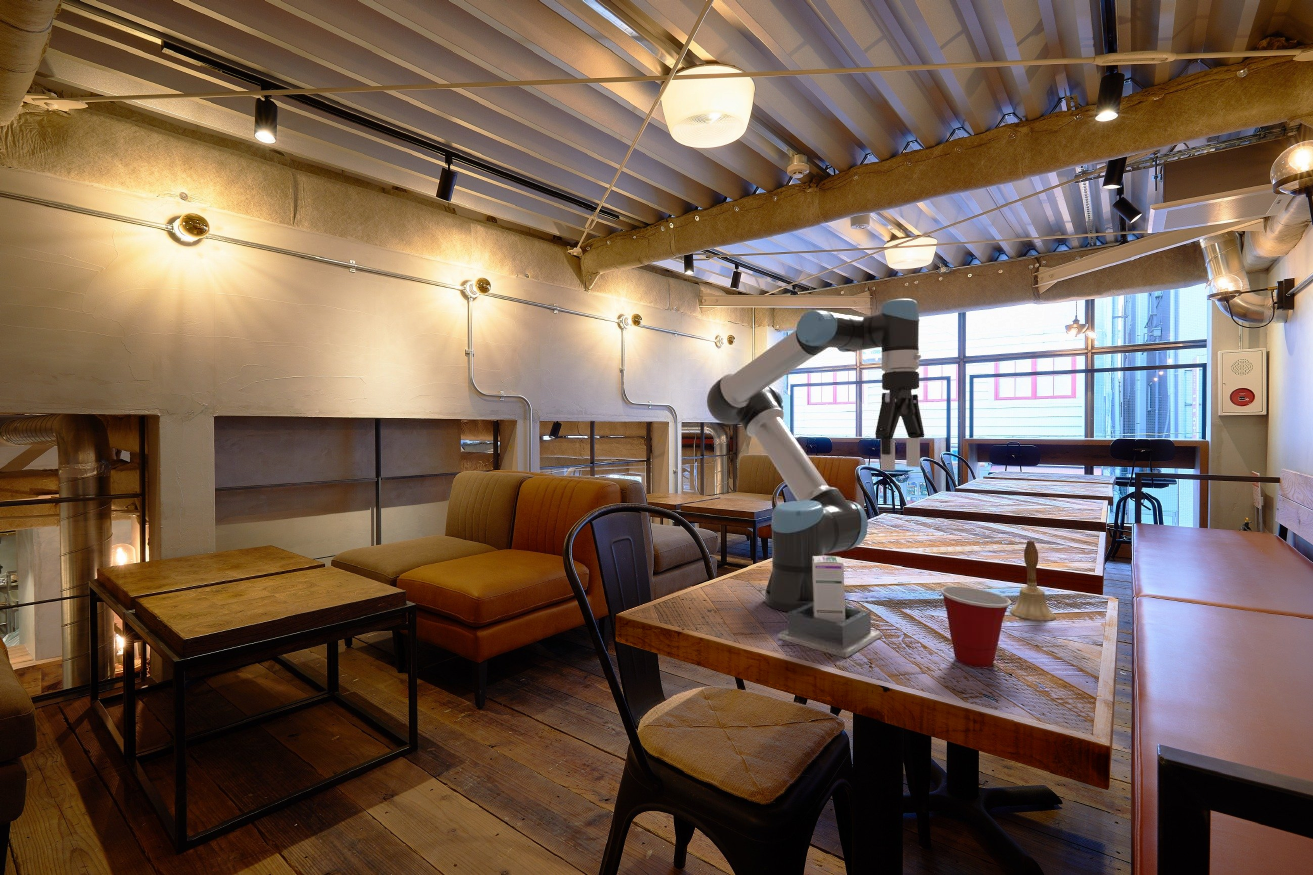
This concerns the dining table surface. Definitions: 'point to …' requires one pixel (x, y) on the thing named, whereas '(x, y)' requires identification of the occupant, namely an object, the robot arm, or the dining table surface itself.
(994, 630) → the plastic cup
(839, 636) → the grey shallow open box
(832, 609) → the syrup box
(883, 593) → the dining table surface
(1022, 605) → the hand bell
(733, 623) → the dining table surface
